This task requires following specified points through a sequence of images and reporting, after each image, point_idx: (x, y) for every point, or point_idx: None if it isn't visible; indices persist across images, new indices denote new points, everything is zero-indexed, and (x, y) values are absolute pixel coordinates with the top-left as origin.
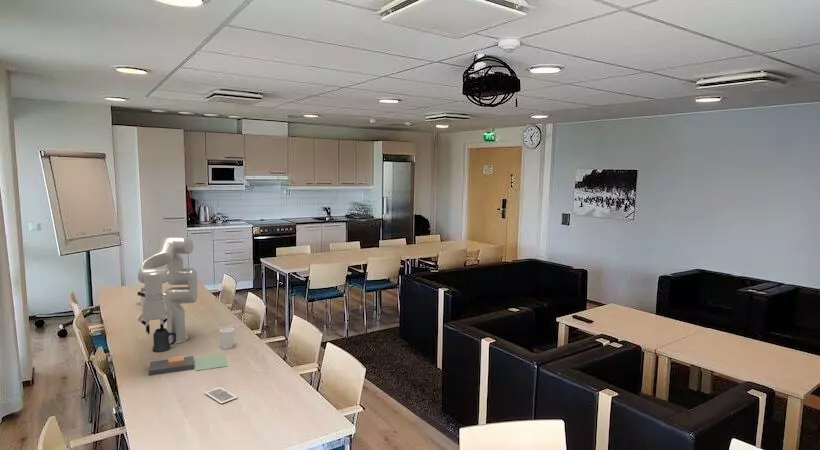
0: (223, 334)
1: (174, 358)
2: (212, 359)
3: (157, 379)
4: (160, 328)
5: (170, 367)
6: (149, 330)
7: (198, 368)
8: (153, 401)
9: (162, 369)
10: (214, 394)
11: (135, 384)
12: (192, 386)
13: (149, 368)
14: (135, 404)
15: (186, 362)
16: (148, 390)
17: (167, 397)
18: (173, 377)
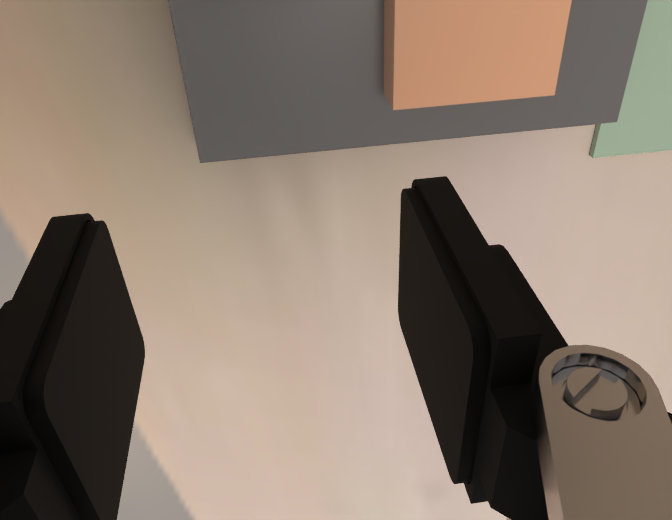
0: None
1: (464, 1)
2: None
3: (291, 235)
4: (432, 402)
5: (402, 138)
6: (114, 342)
7: (627, 120)
8: (307, 484)
9: (327, 146)
10: None
11: (136, 282)
12: None
13: (193, 104)
14: (221, 497)
15: (565, 43)
16: (257, 380)
17: (374, 462)
18: None
